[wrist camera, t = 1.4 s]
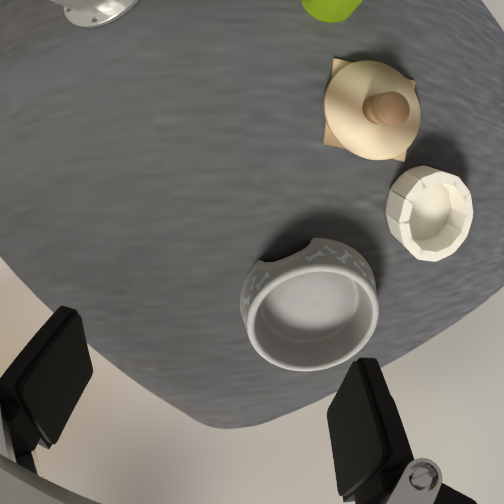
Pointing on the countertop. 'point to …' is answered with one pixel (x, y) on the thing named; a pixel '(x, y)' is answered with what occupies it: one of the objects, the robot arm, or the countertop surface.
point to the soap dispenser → (330, 9)
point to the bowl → (429, 212)
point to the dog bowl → (310, 306)
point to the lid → (372, 110)
